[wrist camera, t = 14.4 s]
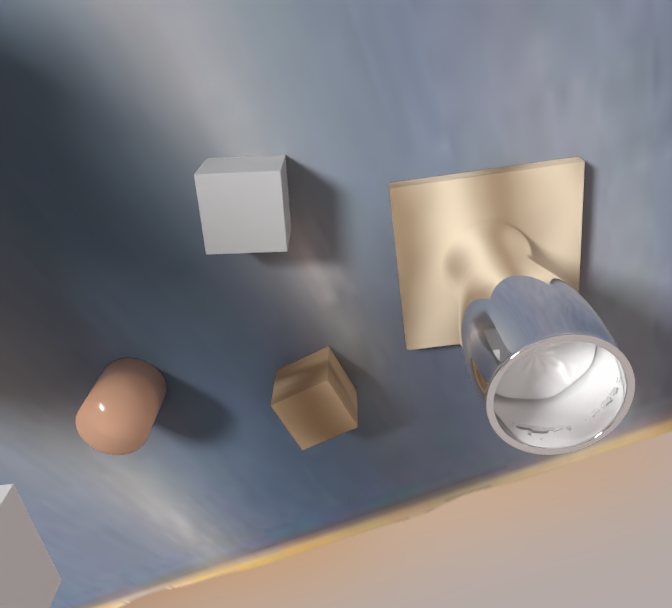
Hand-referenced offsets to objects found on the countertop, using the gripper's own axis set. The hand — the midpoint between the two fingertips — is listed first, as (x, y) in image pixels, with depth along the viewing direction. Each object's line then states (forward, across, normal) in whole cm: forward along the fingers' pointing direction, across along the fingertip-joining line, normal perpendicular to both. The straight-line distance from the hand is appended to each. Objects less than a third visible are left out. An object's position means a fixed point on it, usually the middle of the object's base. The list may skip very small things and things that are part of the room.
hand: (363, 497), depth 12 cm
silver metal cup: (+28, +9, -9) cm, 31 cm away
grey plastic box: (+30, -6, -2) cm, 30 cm away
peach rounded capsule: (+30, -18, -16) cm, 38 cm away
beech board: (+29, +9, -9) cm, 32 cm away
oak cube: (+29, -3, -17) cm, 34 cm away
